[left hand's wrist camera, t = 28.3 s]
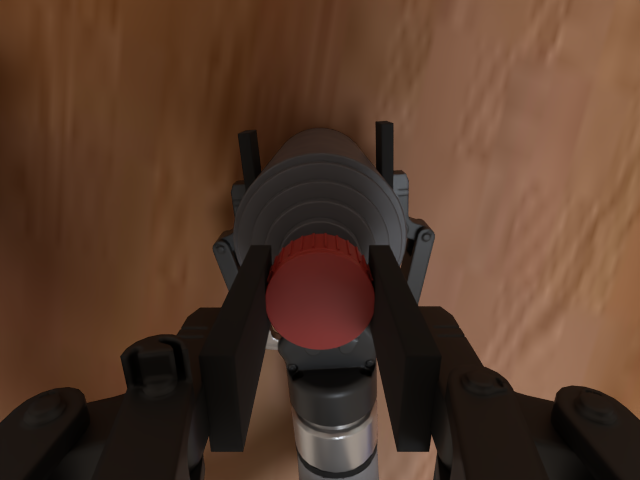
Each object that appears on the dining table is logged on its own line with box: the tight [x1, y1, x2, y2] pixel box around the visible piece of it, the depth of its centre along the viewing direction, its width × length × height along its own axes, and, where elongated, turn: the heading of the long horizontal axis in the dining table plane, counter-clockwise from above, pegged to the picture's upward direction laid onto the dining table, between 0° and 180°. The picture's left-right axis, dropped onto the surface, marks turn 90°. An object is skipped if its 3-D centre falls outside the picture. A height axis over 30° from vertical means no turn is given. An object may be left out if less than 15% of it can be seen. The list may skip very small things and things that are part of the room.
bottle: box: [233, 128, 407, 266], centre depth 23 cm, size 8×8×21 cm
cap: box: [265, 233, 375, 350], centre depth 14 cm, size 4×4×2 cm
